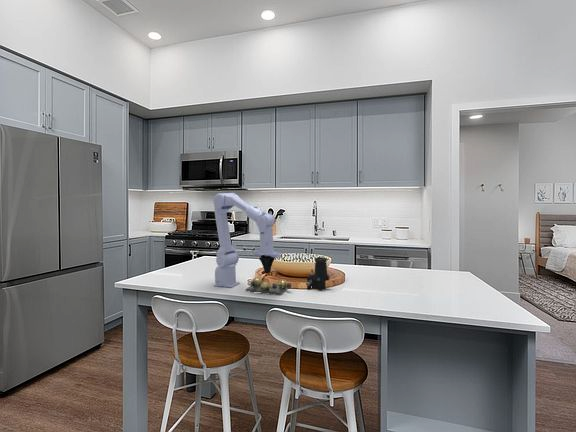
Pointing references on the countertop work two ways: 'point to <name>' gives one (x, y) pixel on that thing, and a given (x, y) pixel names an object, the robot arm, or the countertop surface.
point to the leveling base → (271, 291)
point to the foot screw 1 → (256, 281)
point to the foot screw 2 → (284, 284)
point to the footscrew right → (268, 285)
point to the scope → (318, 275)
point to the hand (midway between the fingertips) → (267, 272)
